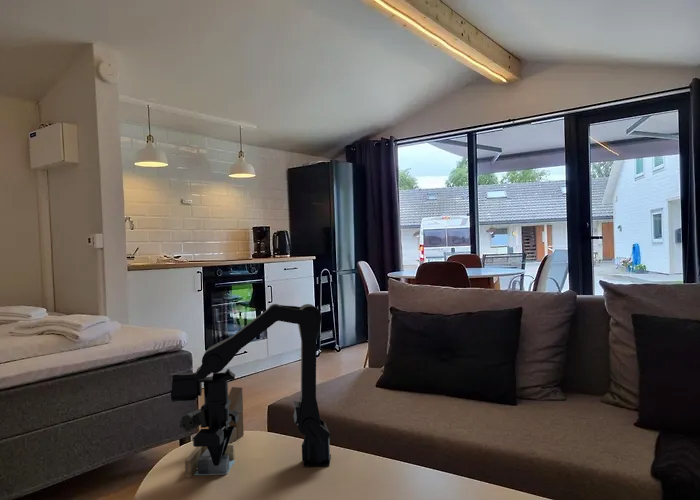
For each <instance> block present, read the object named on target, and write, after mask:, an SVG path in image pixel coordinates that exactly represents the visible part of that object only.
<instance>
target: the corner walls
mask: <svg viewBox="0 0 700 500" xmlns="http://www.w3.org/2000/svg"><path fill="white" fill-rule="evenodd" d="M206 449H208V448H207V447H195V448H194V450H193V451H191V453H190V454H189V456H188V457H187V458H186V459H185V460H184V464H185V465H184V467H185V468H184V469H185V478H191V477H193V476H194V474H195V473H196V471H197V470H198V459H199V458H200V456H201V455H202V454H203V453H204V452H205V450H206ZM225 455H229V460H235V458H236V457H235V443H234V442H232V443H231V444H228V447H227V449H226V452H225Z"/></svg>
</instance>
